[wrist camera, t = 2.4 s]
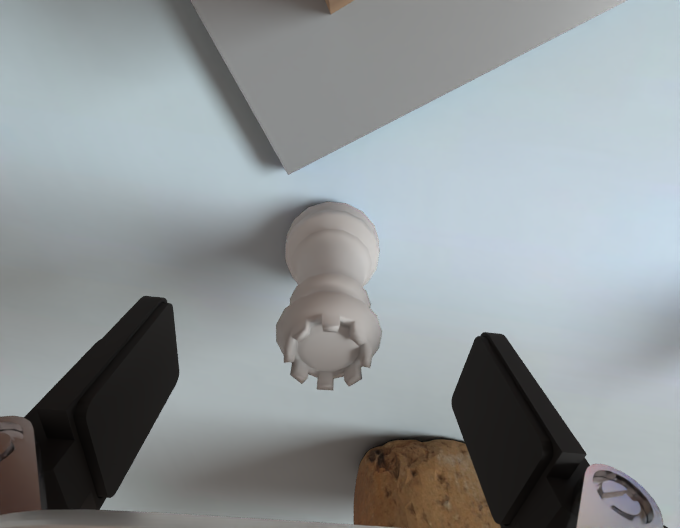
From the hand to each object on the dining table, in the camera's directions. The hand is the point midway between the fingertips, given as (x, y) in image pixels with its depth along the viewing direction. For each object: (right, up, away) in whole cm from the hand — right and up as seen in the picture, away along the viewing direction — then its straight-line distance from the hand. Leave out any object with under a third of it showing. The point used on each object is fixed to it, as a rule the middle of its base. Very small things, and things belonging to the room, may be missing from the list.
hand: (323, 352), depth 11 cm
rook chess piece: (0, +4, +6) cm, 7 cm away
